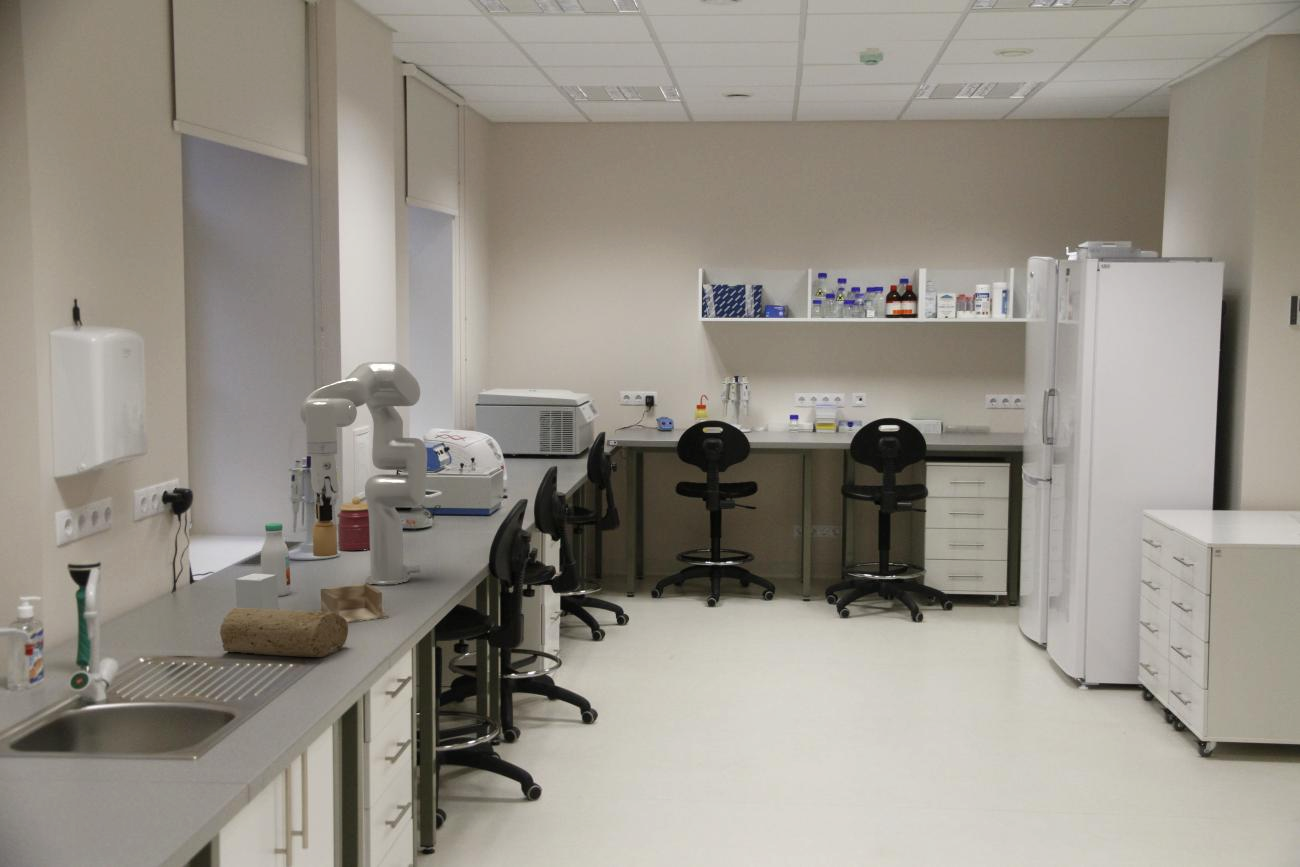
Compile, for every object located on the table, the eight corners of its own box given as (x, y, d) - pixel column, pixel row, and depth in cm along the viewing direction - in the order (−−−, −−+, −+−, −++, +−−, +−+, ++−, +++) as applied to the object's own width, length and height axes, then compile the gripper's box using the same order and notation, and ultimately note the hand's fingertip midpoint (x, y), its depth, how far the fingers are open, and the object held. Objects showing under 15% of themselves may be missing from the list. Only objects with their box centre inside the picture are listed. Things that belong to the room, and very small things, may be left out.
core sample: (249, 641, 283) (247, 600, 282) (350, 647, 276) (348, 605, 275) (214, 657, 269) (212, 613, 268) (319, 663, 263) (317, 619, 262)
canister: (372, 551, 397) (370, 499, 395) (333, 552, 397) (331, 499, 396) (381, 544, 410) (379, 494, 408) (344, 545, 410) (342, 494, 409)
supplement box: (280, 623, 299) (278, 574, 298) (261, 630, 292) (259, 580, 291) (255, 621, 301) (253, 572, 300) (236, 628, 294) (234, 578, 293)
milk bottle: (282, 597, 328) (279, 526, 326) (256, 596, 330) (253, 525, 328) (295, 591, 336) (293, 522, 334) (270, 590, 337) (268, 521, 336)
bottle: (334, 551, 310) (332, 494, 309) (339, 555, 305) (337, 497, 304) (311, 553, 308) (309, 496, 306) (316, 557, 302) (314, 499, 301)
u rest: (372, 607, 316) (371, 582, 315) (388, 617, 304) (387, 592, 303) (315, 614, 308) (315, 589, 308) (330, 625, 296) (329, 599, 296)
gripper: (344, 450, 299) (346, 522, 300) (329, 445, 313) (331, 514, 315) (314, 452, 295) (316, 525, 297) (300, 447, 310) (303, 516, 311)
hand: (324, 519), depth 306 cm, fingers closed on bottle, 3 cm apart
